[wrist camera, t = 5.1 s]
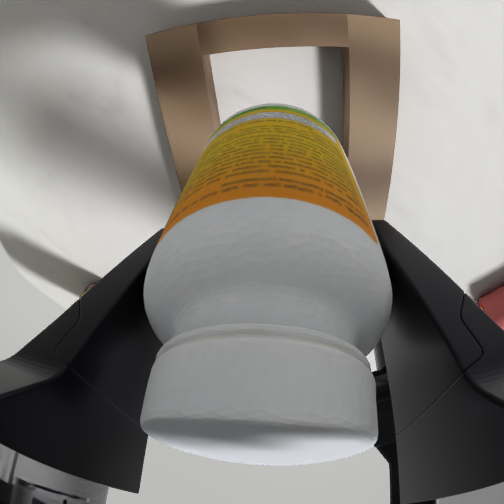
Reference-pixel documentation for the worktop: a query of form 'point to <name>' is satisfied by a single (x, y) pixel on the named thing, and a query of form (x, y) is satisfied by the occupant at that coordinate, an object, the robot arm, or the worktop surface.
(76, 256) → the worktop surface
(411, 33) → the worktop surface
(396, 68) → the brown wooden frame
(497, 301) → the blood vessel
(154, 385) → the supplement bottle
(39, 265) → the worktop surface
